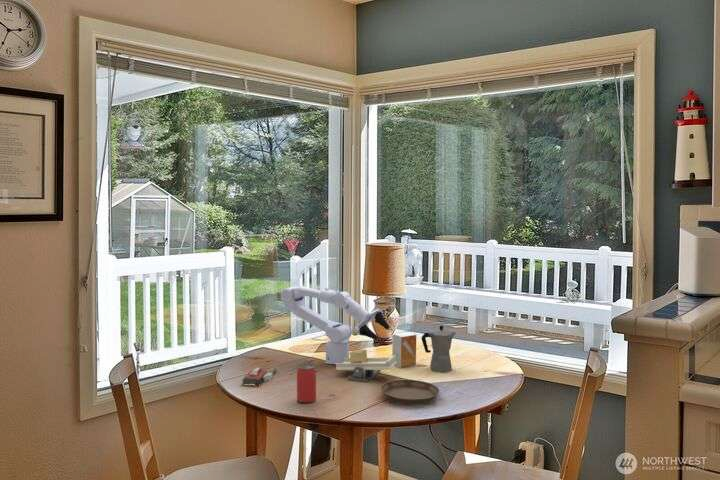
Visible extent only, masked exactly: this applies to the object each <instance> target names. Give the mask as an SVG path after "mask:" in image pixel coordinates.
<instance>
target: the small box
mask: <svg viewBox="0 0 720 480" xmlns="http://www.w3.org/2000/svg"><path fill="white" fill-rule="evenodd" d="M391 345H392V347H391V348H392V350H391V351H392V353H391V354H392V355H391V357H392V356H393V355H396V361H397V364H396V365H394V367H397V368H400V369H401V368H406V367H411V366H416V365H417V334H415V333H412V332H410V331H405V332H404V331H403V332H398V333H393V334H392V344H391Z"/></svg>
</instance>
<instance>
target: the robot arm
mask: <svg viewBox="0 0 720 480" xmlns="http://www.w3.org/2000/svg"><path fill="white" fill-rule="evenodd" d="M305 297H307V298H315V299H319V300H320V302H322V303H325V304H330V305H334V306H335V307H337V308H340V309H342V310H344V311H345V312H346V313H348V315H349V316H351V317H352V318H353V319H354V320H355V321H357V323H358V324H357V325H356V326H355V327H354V329H353V331H354V332H355V333H357V334H359V335H360V336H363V337H368V338H370V339H372V340H374V341H377V339H378V335H377V334H376V333H375V332H373V330H371V328H370V327H368V324H370V322H372V321H373V320H375V321H374V323H377V324H378V325H381V327H383V328H384V329H385V330H389V329H390V325H389V324H388V322H387V320H386V319H385V318H384V317H385V316H384V315H383V313H382V310H380V309H379V308H376V309H375V310H373V311H371V312H369V311H368V310H366V309H365V307H363V306H361V304H359V303H358V302H357V301H356V300H354V299H353V298H352V295H351V293H350V292H348V291H346V290H343V291H340V290H338V289H336V290H333V289H330V287H326V288H323V289H321V290H318V289H315V288H311V287H307V286H304V285H295V286H290V287H287V288H286V287H285V288H283V289H281V292H280V299H281V302H282V304H284V305H286V307H288V309H289V311H290V312H291V313H292V314H293V315H294V316H296V317H298V318H299V319H301V320H303V321H305V322H307V323H309V324H310V325H312V326H314V327H316V328H317V329H319V330H321V331H323V332H324V333H325V336H326V337H328V339H329V341H327V342H326V345H325V362H324V364H329V365H336V363H343V362H344V358H350V338H351V336H352V335H353V331H352V327H351V326H350V325H349V324H347V323H340V322H337V321H332V320H330V319H329V318H327V317H325V316H324V315H321V314H320V313H318V312H316V311H314V310H313V309H310V308H309V307H307V306H305Z"/></svg>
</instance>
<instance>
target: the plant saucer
mask: <svg viewBox="0 0 720 480" xmlns="http://www.w3.org/2000/svg"><path fill="white" fill-rule="evenodd" d="M380 391H381V393H382V394H383V396H385V398H386V399H387V400H389V401H391V402H393V403H396V404H399V405H400V404H401V405H407V406H416V405H417V406H419V405H426V404H428V403H430V402H432V401H433V400H435V398H437V396H439V393H440V389H439V387H437V385H434V384H433V383H430V382H426V381H423V380H415V379H396V380H391V381H387V382H385V383H383V384H382V385H381V386H380Z"/></svg>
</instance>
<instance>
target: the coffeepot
mask: <svg viewBox="0 0 720 480" xmlns="http://www.w3.org/2000/svg"><path fill="white" fill-rule="evenodd" d="M456 334H457V333H456V332H455V331H450V330H445V329H444V325H440V326H439V329H436V330H432V331H430V332H429V331H428V332H424V333H423V334H422V336H421V342H422V345H423V348H424V351H425V353H431V352H432V354H431V360H430V365H429V368H430V369H429V370H431V371H432V372H435V373H449V372H451V371H452V370H453V369H452V362H451V356H450V355H451V354H450V350H451V346H452V340H453V338H454V336H455V335H456ZM427 338H431V339H430V340H431V341H430V342H431V347H432V351H431V350H430V349H428V348H429V347H428V344H427V343H428V342H427Z"/></svg>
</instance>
